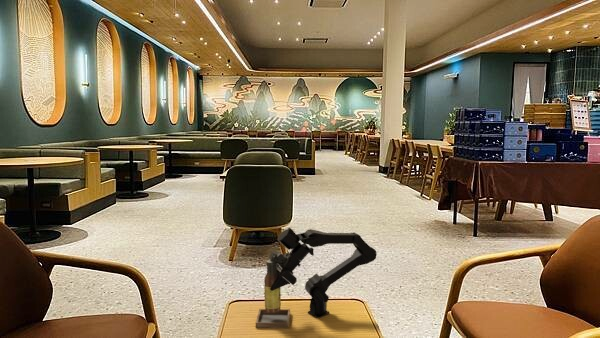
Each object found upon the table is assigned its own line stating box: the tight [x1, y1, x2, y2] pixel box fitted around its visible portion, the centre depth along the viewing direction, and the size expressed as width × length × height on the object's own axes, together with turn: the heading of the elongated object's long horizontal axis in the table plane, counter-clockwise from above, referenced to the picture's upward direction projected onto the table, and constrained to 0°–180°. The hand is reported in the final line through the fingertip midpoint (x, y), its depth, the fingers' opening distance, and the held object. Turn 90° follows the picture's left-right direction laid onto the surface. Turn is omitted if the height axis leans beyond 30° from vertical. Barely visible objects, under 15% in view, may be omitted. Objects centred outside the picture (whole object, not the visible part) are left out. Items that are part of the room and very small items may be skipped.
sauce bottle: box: [263, 259, 282, 313], centre depth 175 cm, size 7×6×20 cm
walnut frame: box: [255, 308, 291, 329], centre depth 176 cm, size 12×12×2 cm
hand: (268, 287), depth 175 cm, fingers closed on sauce bottle, 6 cm apart
